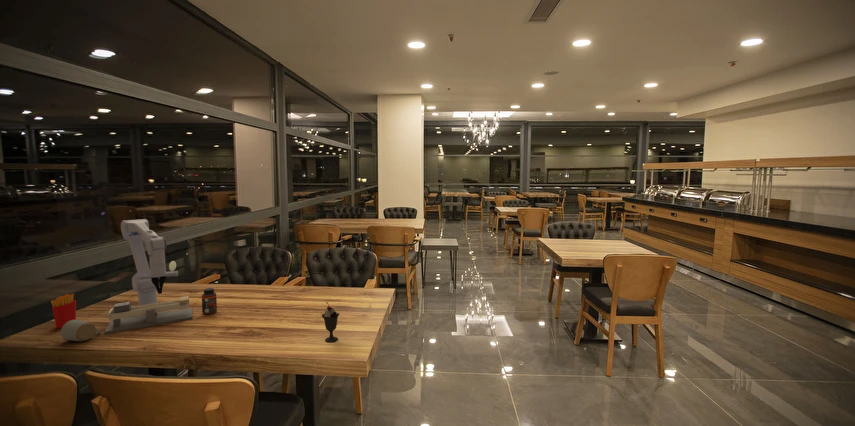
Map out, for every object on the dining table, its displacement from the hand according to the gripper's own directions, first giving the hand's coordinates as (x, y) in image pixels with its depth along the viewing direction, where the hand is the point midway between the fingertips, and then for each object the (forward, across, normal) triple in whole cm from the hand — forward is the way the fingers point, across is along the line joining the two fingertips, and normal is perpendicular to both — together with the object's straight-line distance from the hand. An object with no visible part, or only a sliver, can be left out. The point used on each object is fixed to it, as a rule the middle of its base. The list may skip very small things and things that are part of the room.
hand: (160, 293), depth 170 cm
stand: (+10, -3, -6) cm, 12 cm away
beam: (+7, -3, -6) cm, 9 cm away
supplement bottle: (+11, +19, -8) cm, 23 cm away
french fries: (+10, -34, +8) cm, 36 cm away
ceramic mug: (+11, -24, -13) cm, 30 cm away
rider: (+5, -13, -6) cm, 15 cm away
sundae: (+11, +58, -67) cm, 89 cm away
